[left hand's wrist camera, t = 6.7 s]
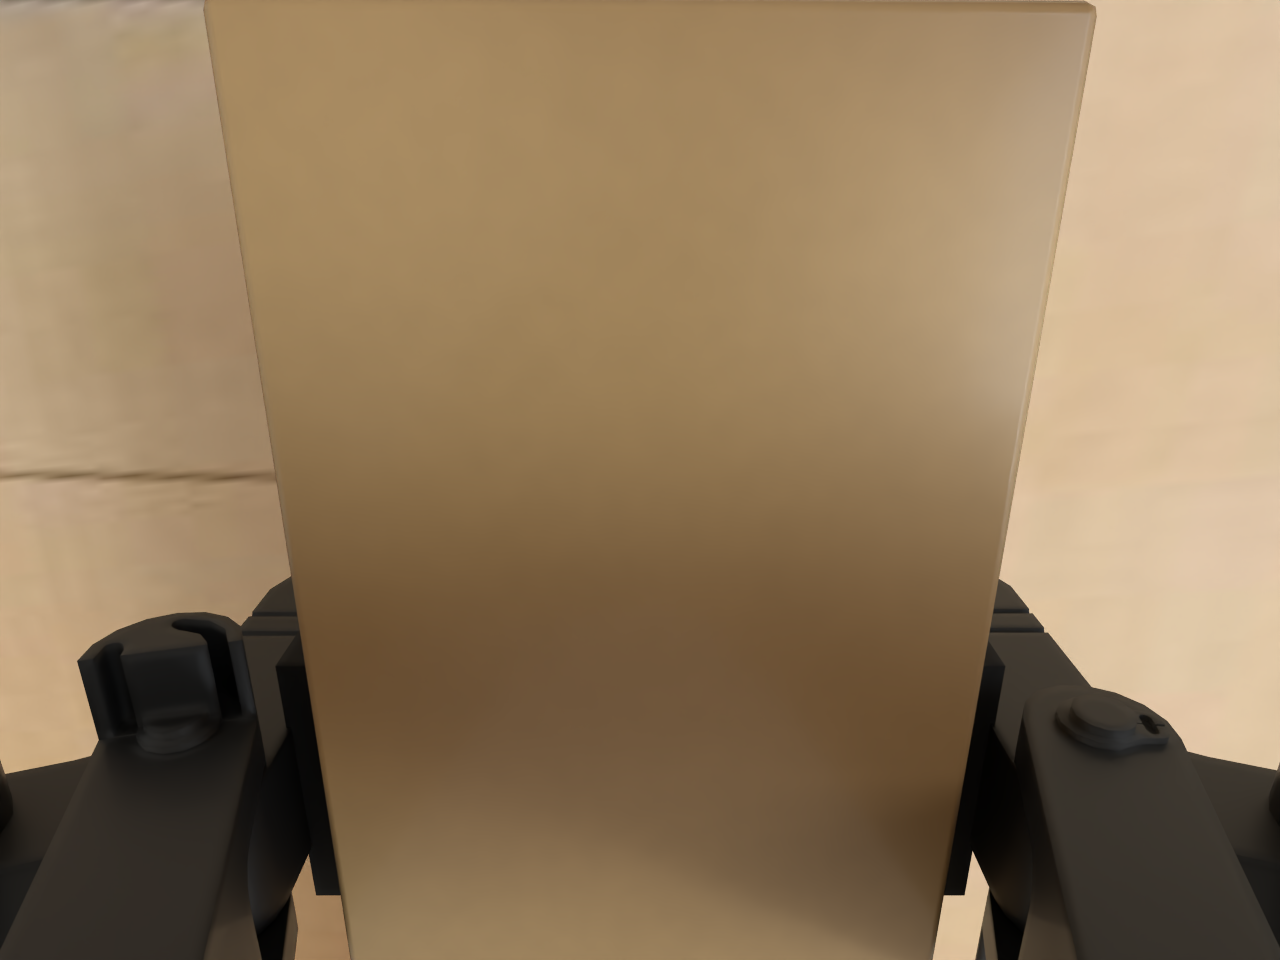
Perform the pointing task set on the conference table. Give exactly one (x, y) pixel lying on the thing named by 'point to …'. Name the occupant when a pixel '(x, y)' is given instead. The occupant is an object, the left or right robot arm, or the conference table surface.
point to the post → (646, 445)
